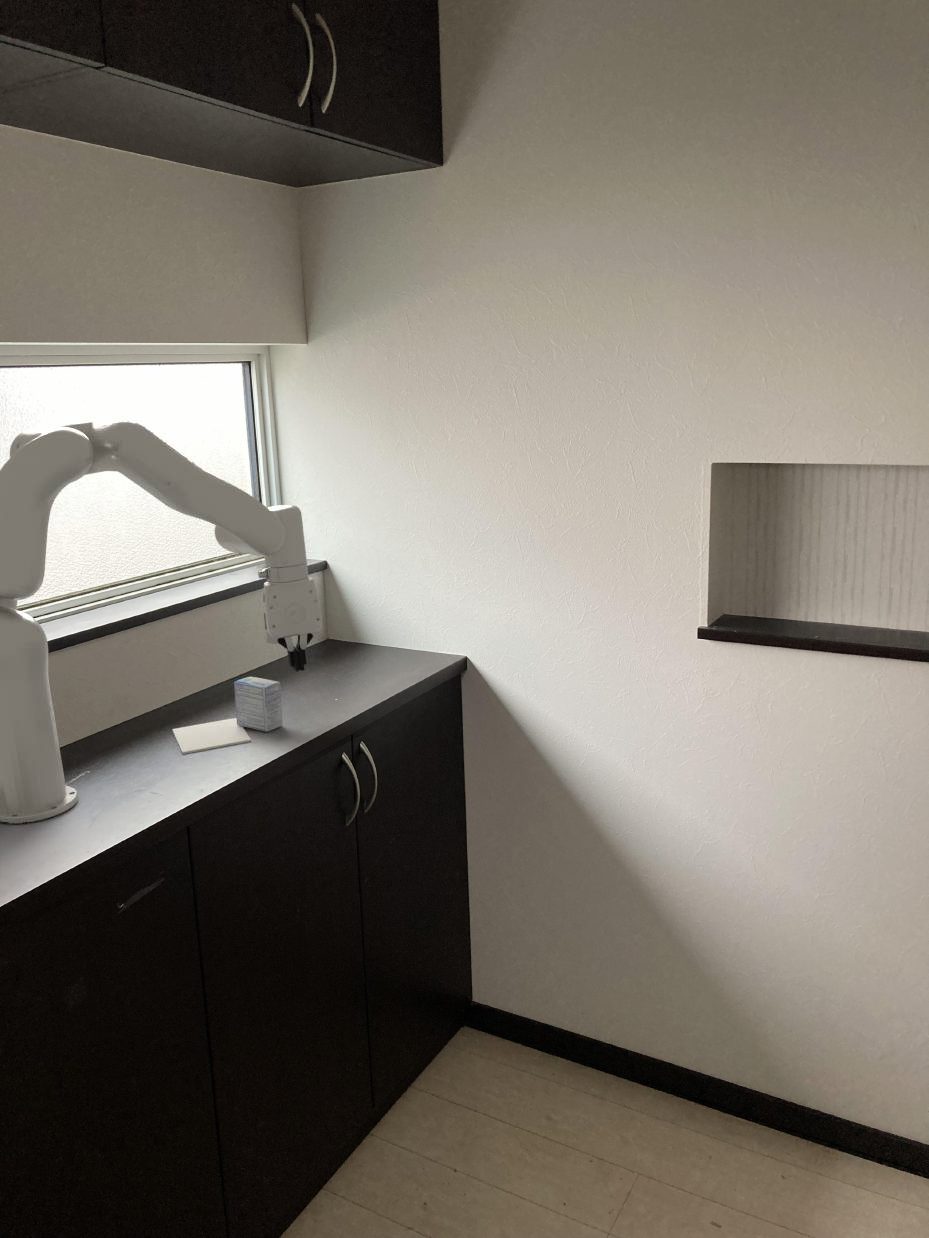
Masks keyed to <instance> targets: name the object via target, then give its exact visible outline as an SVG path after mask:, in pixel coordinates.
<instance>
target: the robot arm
mask: <svg viewBox="0 0 929 1238" xmlns="http://www.w3.org/2000/svg"><path fill="white" fill-rule="evenodd" d="M103 472H118V473H120V474H121V475H123V476H125V478H127V479H128V480H130V481H132V482H133V483H134V484H136V485H137V486H138V487H140V488H141V489H143V490H144V491H145V492H147V493H148V494H150V495H151V496H153V497H154V498H156V500H158V501H159V502H161V504H163V505H165V506H167V507H168V508H169V509H171V510H174V511H176V512H178V513H180V514H182V515H186V516H189V517H193V518H195V519H199V520H202V521H205V522H207V523H210V524H212V525H214V536H215V540H216V542H217V543H218V544H219V546H220V547H221V548H223V549H225V550H226V551H228V552H231V553H235V554H242V555H250V556H251V555H252V556H256V557H264V564H265V565H264V568H263V569H262V570H259V571H258V570H257V571H258V572H257V575H258V578H259V579H265V580H266V581H265V582H264V583H263V592H262V593H263V595H262V597H263V598H262V605H263V606H262V608H263V622H264V623H263V624H264V629H265V631H266V632H265V641H266V643H267V644H274V645H280V646H282V647H283V648H285V650H287V658H288V666H289V667H290V668H292V670H293V671H294V672H300V671H305V665H307V657H306V648H307V647H308V644H309V643H310V642H311V641H312V640H313V639H314V638H316V637H317V638H318V637H319V636H321V635H323V634H324V630H323V624H324V623H323V615H322V611H321V604H320V598H319V595H318V590H317V586H316V583H315V579H314V578H313V577H311V576H309V570H308V561H307V560H308V559H307V554H306V553H307V551H306V543H305V533H304V524H303V523H304V522H303V515H302V511H301V510H300V508H299V507H298V506H296V505H293V504H280V505H279V504H278V505H273V506H272V505H271V506H266V505H265V504H263V503H262V502H260V501H259V500H258V499H256V498H255V497H254V496H253V495H251V494H249V493H248V492H246V491H244V490H242V489H241V488H239V487H237V486H235V485H233V484H231V483H230V482H228V481H227V480H224V479H222V478H221V477H219V475H216V474H214V473H212V472H210V471H208V470H207V469H204V468H203V467H201V466H199V465H198V464H197V463H195V462H194V461H193V460H192V459H190V457H188V456H186V455H185V454H183V453H182V452H181V451H179V450H178V449H177V448H176V447H174V446H173V445H172V444H171V443H169V442H168V441H167V440H165V439H164V438H163V437H161V436H160V435H158V434H157V433H156V432H155V431H154V430H152V428H149V426H147V425H145V424H144V423H142V422H141V421H138V420H135V419H131V418H106V419H103V418H102V419H99V420H91V421H85V422H84V421H83V422H77V423H76V422H75V423H68V424H61V425H60V424H59V425H58V424H57V425H51V426H41V427H40V426H39V427H32V428H27V429H26V430H23V431H22V432H20V433H19V434H17V436H15V438H14V439H13V441H12V443H11V444H10V448H9V459H7V461H6V462H5V463H4V464H3V466H2V467H1V468H0V821H2V822H9V823H8V824H26V823H25V822H27V823H32V822H37V821H42V820H47V819H48V818H50V819H51V817H56V816H57V815H60V814H62V813H64V812H67V811H68V810H69V809H71V808H73V806H74V805H76V804H77V802H78V800H79V795H78V794H79V793H78V791H77V790H76V788H74V787H72V786H68V785H66V781H65V774H64V768H63V761H62V756H61V754H62V753H61V750H60V749H61V748H60V743H59V737H58V730H57V724H56V718H55V712H54V707H53V701H52V694H51V687H50V681H49V680H50V679H49V646H48V645H49V644H48V638H47V635H46V633H45V631H44V628H43V627H42V626H41V624H40V623H39V622H38V621H37V620H36V618H34V617H32V616H31V615H29V614H28V613H26V612H24V611H21V610H18V601H21V600H26V599H28V598H30V597H33V596H34V595H35V594H36V593H37V592H38V591H39V590H40V589H41V588H42V587H41V586H42V585H43V582H44V578H45V571H46V560H47V559H46V558H47V557H46V555H47V544H48V530H49V529H48V528H49V522H50V516H51V511H52V507H53V504H54V502H55V500H56V499H57V496H58V495H59V494H60V493H61V492H62V490H63V489H65V488H66V487H67V486H68V485H70V484H71V483H73V482H76V481H78V480H80V479H81V478H83V477H84V476H87V475H93V474H97V473H103ZM295 636H296V645H294V643H293V642H294V641H293V638H292V637H295ZM2 822H1V823H2ZM23 822H24V823H23Z"/></svg>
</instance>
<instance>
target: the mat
mask: <svg viewBox="0 0 929 1238" xmlns="http://www.w3.org/2000/svg"><path fill="white" fill-rule="evenodd" d="M172 732H173V735H174V738H175V739H176V742H177V745H178V747H179V750H180V751H181V753H182V755H186V754H191V753H197V752H202V751H207V750H214V749H219V748H224V747H229V746H234V745H240V744H245V743H250V742H252V738H251V737H250V736H249V734H248V732H247V731H246V730H245V729H244V726H240V725H237V720H236V717H234V718H228V719H227V718H226V719H223V720H222V719H221V720H217V721H215V720H214V721H211V722H210V721H209V722H206V723H199V724H194V725H189V726H183V727H178V728H172Z"/></svg>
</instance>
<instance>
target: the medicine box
mask: <svg viewBox="0 0 929 1238" xmlns="http://www.w3.org/2000/svg"><path fill="white" fill-rule="evenodd" d="M233 685H234V700H235V701H234V702H235V703H234V704H235V716H236V717H235V718H236V720H237V725H240V726H242V727H243V728H244V727H245V728H249V729H253V730H258V731H263V732H270V731H273V730H275V729H278V728H281V727H283V724H284V723H283V709H282V705H283V704H282V692H281V690H282V689H281V682H280V681H276V680H272V679H266V678H261V677H256V676H247V677H244V678H241V679H237V680H236V681H234V682H233Z"/></svg>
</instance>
